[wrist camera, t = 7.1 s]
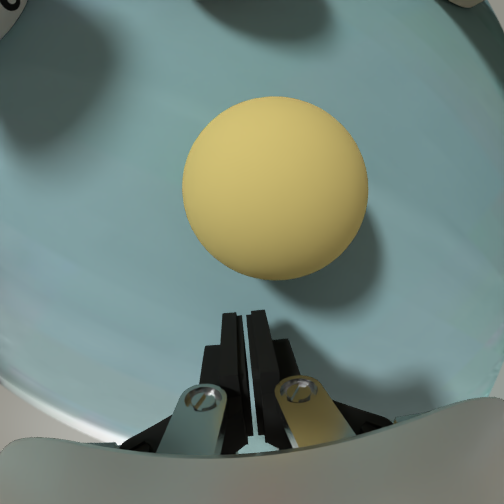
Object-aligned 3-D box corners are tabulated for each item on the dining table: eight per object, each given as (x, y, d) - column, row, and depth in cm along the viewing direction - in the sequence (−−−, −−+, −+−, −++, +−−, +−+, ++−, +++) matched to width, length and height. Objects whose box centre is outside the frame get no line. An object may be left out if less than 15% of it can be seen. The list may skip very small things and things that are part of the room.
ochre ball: (244, 39, 4) (218, 82, 9) (146, 289, 6) (165, 213, 11) (435, 162, 6) (340, 140, 11) (342, 333, 8) (286, 253, 13)
